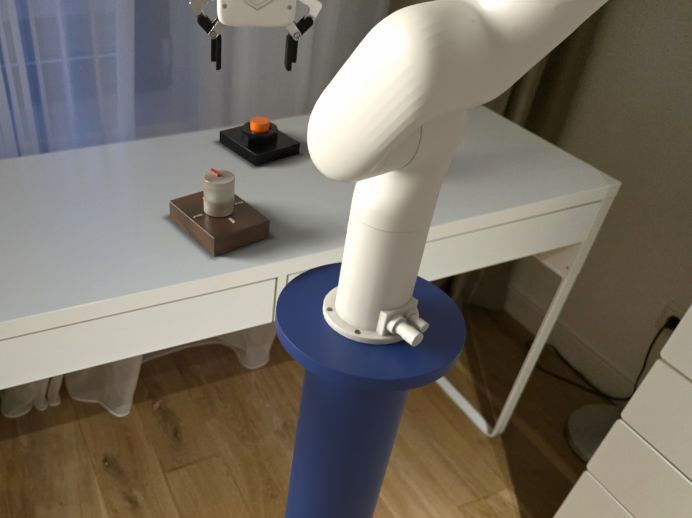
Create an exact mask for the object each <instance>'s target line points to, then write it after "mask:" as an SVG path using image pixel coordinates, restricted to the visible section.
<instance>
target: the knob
mask: <svg viewBox="0 0 692 518" xmlns="http://www.w3.org/2000/svg"><path fill="white" fill-rule="evenodd" d="M235 184H236V177H235V174H234V173H233V172H231V171H229V170H226V169H215V168H213V167H212V168H209V170H208V171H206V172H205V173H204V174H203V191H204V212H205V213H206V214H207V215H210V216H213V217H226V216H229V215H231V214H232V213H233V211H234V194H235V188H236V187H235Z"/></svg>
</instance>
